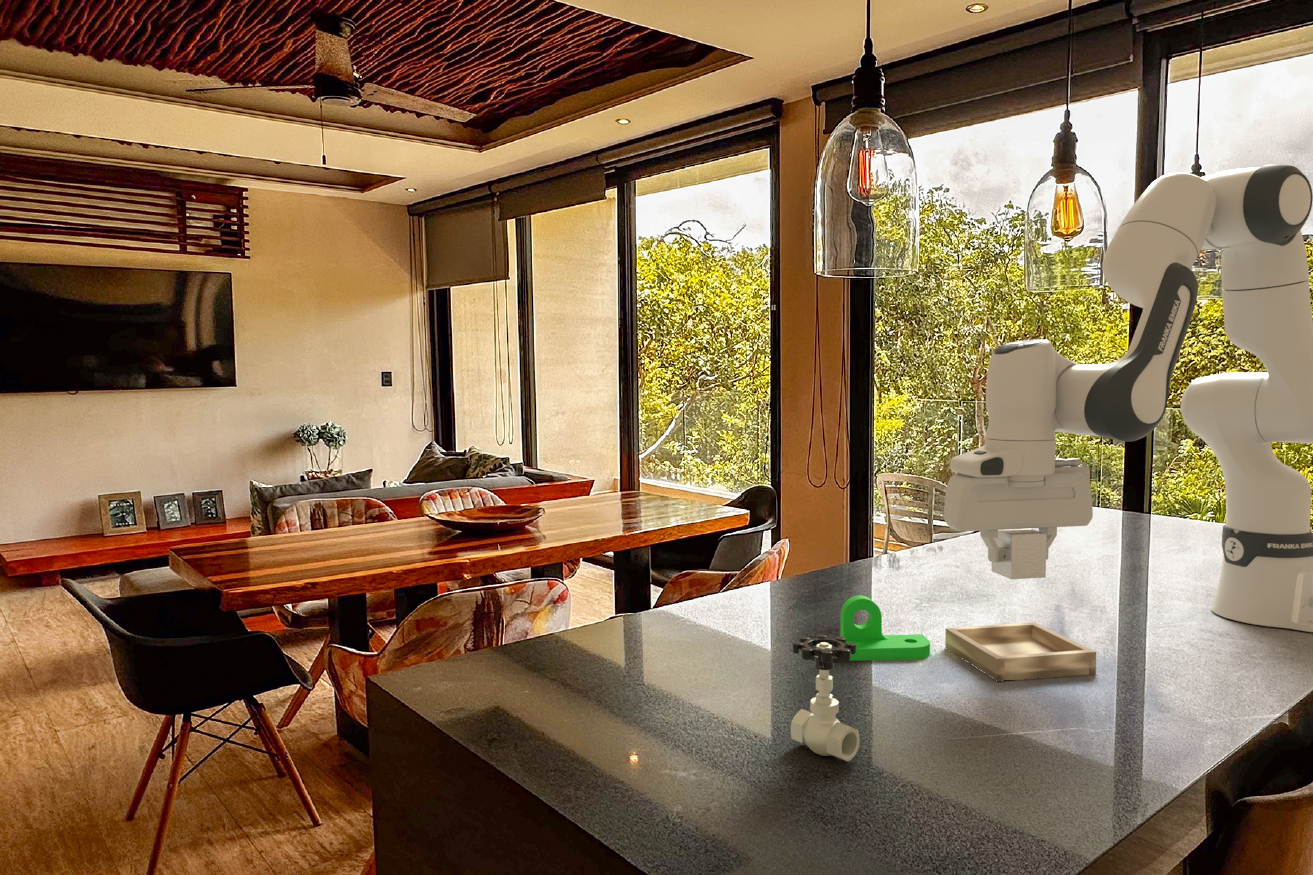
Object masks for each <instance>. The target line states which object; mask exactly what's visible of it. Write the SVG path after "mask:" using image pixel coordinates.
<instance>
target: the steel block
mask: <svg viewBox="0 0 1313 875" xmlns="http://www.w3.org/2000/svg"><path fill="white" fill-rule="evenodd" d="M994 540H995V542H996V544H997V546H998V548H1001V549H1004V550H1005V555H1004V557H1005V561H1004V562H997V563H993V562H991V570H990V571H991V572H992V573H994V574H997V575H999V576H1002V577H1005V578H1007V579H1009V580H1021V579H1022V580H1026V579H1027V580H1028V579H1043V578H1047V577H1046V576H1047V575H1046V574H1047V567H1046V566H1047V560H1046V533H1043V532H1040V531H1039V530H1036V529H1034V528H1027V529H1005V530H998V537H997V538H994Z"/></svg>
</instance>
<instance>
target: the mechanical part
mask: <svg viewBox="0 0 1313 875" xmlns="http://www.w3.org/2000/svg"><path fill="white" fill-rule="evenodd" d="M859 611H866V612H868V619H867V621H865V622H864V623H862V624H855V623H854V616H855V614H857V613H858V612H859ZM882 617H883V616H882V610H881V609H880V607H879V606H878V605H877V604H876V603H875V602H874V601H873V600H872V599H871V598H870V597H868V596H866V595H861V594H858V595H854V596H851V597H849V598H848V599H846V601H844V603H843V604H842V606H841V609H840V619H839V620H840V623H839V624H840V633H839V634H840V635H839V637H845V638H846V643H847V642H853V643H855V644H856V653H855V654H851V659H850V660H849V661H850V662H853V661H854V662H855V661H898V660H900V661H903V660H904V661H905V660H911V661H912V660H913V661H914V660H923V659H927V658H928V657H930V656H931V641H930V640H929V639H928V638H927V637H926V636H925V635H923V633H922V634H920V633H919V634H916V633H915V634H884V633H883V632H882V631H883V630H882V629H883V626H882V625H883V623H882V622H883V621H882V620H883V618H882Z"/></svg>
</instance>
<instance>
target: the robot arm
mask: <svg viewBox="0 0 1313 875" xmlns="http://www.w3.org/2000/svg"><path fill="white" fill-rule="evenodd" d="M1312 207H1313V189H1312V185H1311V183H1310V181H1309V179H1308V178H1307V176H1306V175H1305V174H1304V173H1303V172H1302V171H1301V170H1300V169H1299V168H1298V167H1296V166H1294V165H1290V164H1289V165H1288V164H1274V163H1273V164H1272V163H1271V164H1265V165H1261V166H1260V167H1258V166H1257V167H1246V168H1245V167H1244V168H1235V169H1229V170H1228V169H1227V170H1222V171H1218V172H1216V173H1214V174H1209V175H1204V176H1201V177H1200V176H1198V175H1196V174H1192V173H1188V172H1172V173H1167V174H1163V175H1161V176H1160V177H1159V178H1157V179H1155V180H1154V181H1152V182H1151V183H1150V185H1148V187H1147V188H1145V190H1144V191H1143V193H1141V195H1140V196H1139V197H1138V199H1137V200H1136V201H1135V202H1134V203H1133V205H1132V206H1131V207H1130V209H1129V211H1128V212H1127V214H1126V215H1125V217H1124V218H1123V220H1122V221H1121V223H1120V224H1119V227H1118V228H1117V230H1116V232H1115V233H1114V235H1113V237H1112V239H1111V240H1110V242H1109V244H1108V246H1107V248H1106V251H1105V254H1104V256H1103V261H1102V265H1101V268H1102V273H1103V276H1104V279H1105V281H1106V283H1107V285H1108V286H1109V288H1110V289H1111V290H1112V291H1113V292H1114V294H1116V295H1117V296H1119V297H1120V298H1121V299H1123V300H1124V301H1125V302H1127V303H1129V304H1131V305H1133V306H1135V307H1138V308H1141V309H1142V312H1141V315H1140V318H1139V320H1138V323H1137V326H1136V329H1135V331H1134V334H1133V337H1132V339H1131V342H1130V345H1129V347H1128V350H1127V352H1126V353H1125V355H1123V356H1122V357H1121V358H1118V359H1116V360H1115V361H1111V362H1109V363H1095V364H1094V363H1092V364H1091V363H1090V364H1089V363H1088V364H1087V363H1077V362H1076V361H1074V360H1071V359H1068V358H1066V357H1065V356H1063V355H1062V354H1061V353H1059V352H1058V351H1057V350H1056V349H1055V348H1053V344H1052V342H1051V341H1050V340H1047V339H1043V338H1041V339H1040V338H1033V339H1025V340H1017V341H1011V342H1007V343H1004V344H1001V345H999V346H998V347H997V348H995V349H994V350H993V352H992V353H991V356H990V358H989V363H988V368H987V375H986V385H985V386H986V388H985V410H986V413H987V415H988V423H987V424H988V425H987V429H986V432H985V436H984V437H985V438H984V442H985V443H984V444H985V445H982V446H979V447H978V448H974V449H973V450H970V451H969V450H968V451H967V452H964V453H961V454H958V455H956V456H953V457H952V458H951V460H950V463H949V466H950V470H951V471H952V472H953V473H955V474H954V475H952V476H951V477H950V479H949V480H948V481H947V485H946V489H945V494H944V508H943V516H944V518H943V519H944V522H945V524H946V525H947V526H948V527H949V528H950V529H952V530H955V531H958V532H976V531H977V532H978V531H979V532H980V538H981V539H982V541H983V543H984V544H985V546H986V549H987V559H988V561H989V562H991V563H992V562H993V563H997V562H1004V561H1005V557H1004V555H1005V550H1004V549H1001V548H998V546H997V544H996V542H995V540H994V538H997V537H998V530H1005V529H1027V528H1030V529H1038V531H1040V532H1043V533H1046V561H1048V560H1049V548H1050V547H1051V546H1052V544H1053V542H1054V541H1055V539H1056V538H1057V536H1058V528H1065V527H1067V528H1069V527H1071V528H1072V527H1086V526H1088V525H1089V524H1090V523H1091V521H1092V519H1093V517H1094V512H1093V511H1094V510H1093V509H1094V508H1093V499H1092V498H1093V497H1092V490H1091V485H1090V483H1091V470H1090V467H1089V466H1088V465H1087V464H1086V462H1084V461H1082V460H1081V459H1080V458H1078V457H1077V458H1076V457H1074V458H1073V457H1072V458H1066V459H1065V458H1056V442H1057V441H1056V433H1061V434H1072V435H1081V436H1091V437H1092V436H1093V437H1101V438H1103V439H1104V438H1105V439H1109V440H1110V439H1111V440H1116V441H1120V442H1128V443H1129V442H1136V441H1138V440H1142V439H1143V438H1145V437H1146V436H1148V435H1149V434H1150V433H1151V432H1153V431H1154V430H1155V429H1156V428H1157V427H1158V425H1159V424H1160V422H1161V421H1162V419H1163V418H1164V415H1165V413H1166V410H1167V406H1168V403H1169V402H1168V401H1169V400H1168V399H1169V392H1170V384H1171V380H1172V376H1173V373H1174V371H1175V367H1176V365H1177V362H1178V358H1179V357H1180V353H1181V350H1182V347H1183V345H1184V341H1185V338H1186V335H1187V333H1188V329H1189V326H1190V323H1191V320H1192V317H1193V315H1194V311H1195V307H1196V305H1197V304H1196V303H1197V299H1198V295H1199V284H1198V280H1197V276H1196V275H1195V273H1194V272H1193V271H1192V269H1193V266H1194V264H1195V262H1196V261H1197V258H1198V256H1199V254H1200V252H1201V251H1206V250H1209V251H1210V250H1211V251H1213V250H1222V251H1223V252H1222V261H1221V262H1222V263H1221V289H1222V290H1221V291H1222V293H1221V294H1222V310H1223V311H1222V313H1223V323H1224V324H1223V325H1224V333H1225V335H1226V337H1227V339H1228V340H1229V341H1230V342H1231V344H1233V345H1234V346H1235V347H1237V348H1239V349H1242V350H1243V351H1246V352H1249V353H1251V354H1253V355H1254V356H1256V357H1257V359H1259V361H1261V363H1262V364H1263V366H1264V368H1265V369H1266V371H1264V372H1262V371H1258V372H1257V371H1254V372H1253V371H1252V372H1250V371H1249V372H1245V371H1244V372H1237V371H1236V372H1223V373H1217V374H1210V375H1206V376H1201V377H1197V378H1195V379H1193V380H1192V381H1191V382H1190V384H1188V386H1187V387H1186V388H1185V390H1184V392H1183V395H1182V397H1181V401H1180V414H1181V417H1182V420H1183V423H1185V425H1186V427H1187V428H1188V429H1189V430H1190V431H1191V432H1192V433H1193V434H1195V435H1196V436H1197V437H1199V438H1200V439H1201V440H1202V441H1203V442H1205V444H1206V445H1207V446H1208V447H1209V448H1210V450H1211V452H1212V453H1213V454H1214V456H1215V458H1216V459H1217V461H1218V463H1219V464H1218V465H1219V466H1220V468H1221V472H1222V475H1223V479H1224V490H1225V525H1223V526H1222V534H1221V548H1222V554H1223V558H1222V559H1223V560H1222V564H1221V570H1220V575H1219V580H1218V585H1217V590H1216V594H1215V596H1214V600H1213V602H1212V606H1211V608H1210V610H1211V611H1212V612H1213V613H1214V614H1216V615H1218V616H1220V617H1222V618H1225V619H1230V620H1233V621H1237V622H1241V623H1245V624H1250V625H1256V626H1257V625H1258V626H1262V627H1263V626H1264V627H1272V628H1273V627H1274V628H1280V629H1282V628H1283V629H1291V630H1296V631H1302V632H1308V633H1313V532H1312V531H1311V507H1312V487H1311V484H1310V483H1309V481H1308V479H1307V478H1306V477H1305V476H1304V475H1303V474H1302V473H1301V472H1300V471H1298V469H1295V468H1293V467H1291V466H1289V465H1287V464H1285V463H1283V462H1282V461H1280V459H1278V457H1277V456H1276V454H1275V452H1274V451H1273V447H1272V443H1290V444H1307V445H1308V444H1311V445H1312V444H1313V314H1312V313H1313V312H1312V305H1311V294H1310V275H1309V274H1310V273H1309V264H1308V256H1307V251H1306V245H1305V241H1304V236H1303V233H1302V228H1303V227H1304V225H1305V224H1306V222H1307V220H1308V219H1309V217H1310V214H1311V211H1312Z"/></svg>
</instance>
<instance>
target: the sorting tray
mask: <svg viewBox="0 0 1313 875" xmlns="http://www.w3.org/2000/svg"><path fill="white" fill-rule="evenodd" d="M944 638H945V643H944V644H945V645H944V646H945V649H946V648H947V649H948V650H947V649H946V650H947V651H949V650H950V651H951V652H950V651H949V652H950V653H951V654H953V653H955V654H956V655H957V656H956V655H955V654H954V655H955V656H956V657H958V656H959V657H960V658H959V657H958V658H959V659H961V658H963V659H964V660H966V661H968V662H969V663H970V664H973V665H974V666H976V667H977V668H978V669H980V670H982V671H983V672H985V673H986V674H987V675H989V676H991V677H993V678H994V679H995V680H997V681H1002V680H1015V681H1025V680H1026V679H1027V680H1037V678H1039V679H1051V678H1062V677H1063V678H1064V677H1075V676H1076V677H1077V676H1089V675H1090V676H1091V675H1097V674H1096V673H1097V651H1095V650H1093V649H1091V648H1090V647H1087V646H1085V645H1083V644H1081V643H1079V642H1077V641H1075V640H1073V639H1071V638H1068V637H1067V636H1064V635H1062V634H1060V633H1058V632H1056V631H1053V630H1052V629H1049V628H1047V627H1045V625H1044V626H1043V625H1041V624H1039V623H1037V622H1034V621H1032V622H1018V623H1006V624H990V625H987V624H986V625H976V626H975V625H973V626H963V627H962V626H961V627H960V626H959V627H946V628H945V637H944ZM964 660H963V661H964ZM970 664H969V665H970ZM978 669H977V670H978ZM983 672H982V673H983ZM986 674H985V675H986ZM987 675H986V676H987ZM989 676H988V677H989ZM1024 679H1025V680H1024ZM1039 679H1038V680H1039ZM995 680H994V681H995ZM997 681H996V682H997ZM1002 682H1003V681H1002Z"/></svg>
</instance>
